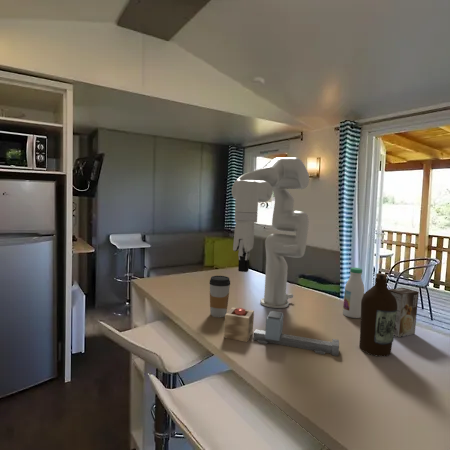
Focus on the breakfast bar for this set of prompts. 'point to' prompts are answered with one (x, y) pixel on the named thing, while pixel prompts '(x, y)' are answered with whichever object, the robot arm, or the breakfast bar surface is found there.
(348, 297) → the milk bottle
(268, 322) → the carriage
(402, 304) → the coffee box
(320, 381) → the breakfast bar surface
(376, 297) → the olive oil
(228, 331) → the small open wooden box
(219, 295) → the coffee cup
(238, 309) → the button
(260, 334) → the guide rail
